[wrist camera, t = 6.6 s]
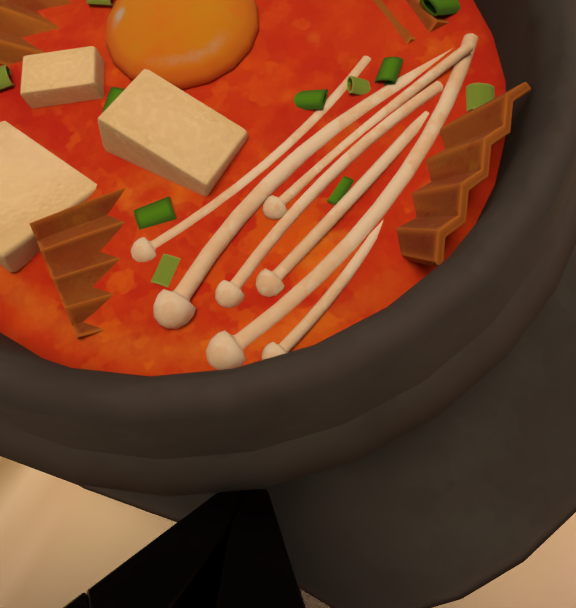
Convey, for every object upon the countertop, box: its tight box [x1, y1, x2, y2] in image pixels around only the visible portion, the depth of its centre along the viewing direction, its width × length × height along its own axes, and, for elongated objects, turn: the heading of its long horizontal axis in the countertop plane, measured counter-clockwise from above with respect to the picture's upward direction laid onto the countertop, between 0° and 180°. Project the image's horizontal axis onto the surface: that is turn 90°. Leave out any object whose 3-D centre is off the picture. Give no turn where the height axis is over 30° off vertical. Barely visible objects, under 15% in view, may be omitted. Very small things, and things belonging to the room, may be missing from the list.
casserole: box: [0, 0, 576, 608], centre depth 13 cm, size 25×19×8 cm
